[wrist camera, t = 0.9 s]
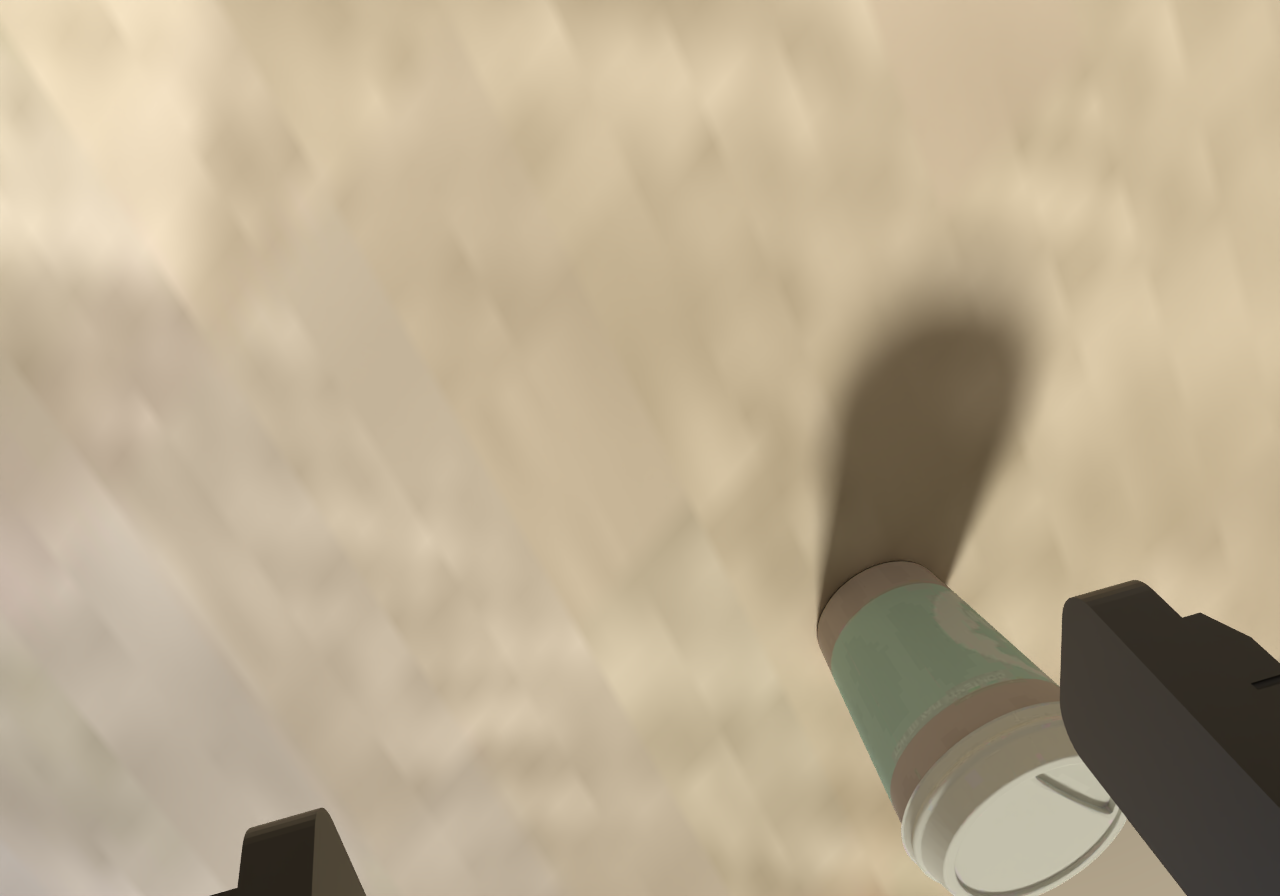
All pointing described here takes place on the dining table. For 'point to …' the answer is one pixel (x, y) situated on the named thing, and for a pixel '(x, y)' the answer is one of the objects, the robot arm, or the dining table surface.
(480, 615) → the dining table surface
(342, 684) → the dining table surface
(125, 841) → the dining table surface
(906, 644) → the coffee cup
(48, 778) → the dining table surface
